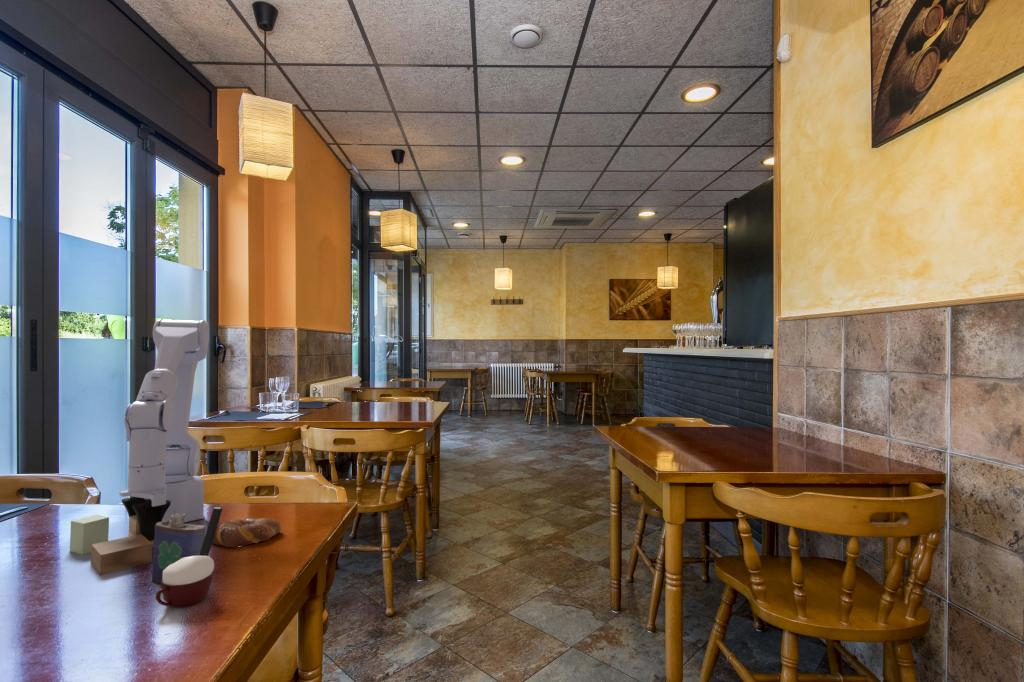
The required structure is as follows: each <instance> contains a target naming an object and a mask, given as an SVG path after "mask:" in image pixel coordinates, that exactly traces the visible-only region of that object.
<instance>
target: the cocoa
mask: <svg viewBox="0 0 1024 682" xmlns="http://www.w3.org/2000/svg"><path fill="white" fill-rule="evenodd" d="M222 512H223V507H220V506H215V507H213V509H212V513H211V516H210V520H209V523H208V526H207V528H206V531H205V538H204V542H203V545H202V548H201V551H200V555H199V556H189V557H184V558H182V559H180V560H178V561H177V562H175V563H173V564H171V565H169V566H168V567H167V568H165V569H164V570H163V576H162V581H161V585H160V587H161V588H160V589H158V590H157V592H156V593H155V600H156V602H157V603H158V604H159V605H163V606H165V607H173V608H185V607H189V606H193V605H195V604H197V603H199V602H200V601H202V600H203V599H205V597H206V596H207V594H208V593H209V590H210V587H211V585H212V580H213V574H214V573H213V571H214V569H215V562H214V559H213V558H212V557H210V551H211V548H212V544H213V538H214V535H215V532H216V529H217V527H218V526H219V520H220V518H221V515H222ZM161 595H162V597H163V600H162V599H161Z"/></svg>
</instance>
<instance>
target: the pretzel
mask: <svg viewBox="0 0 1024 682" xmlns="http://www.w3.org/2000/svg"><path fill="white" fill-rule="evenodd" d="M281 530H282V527H281V524H280V522H279V521H278V520H277V519H274V518H266V517H260V518H257V517H245V518H243V519H242V518H241V519H240V518H238V519H237V518H235V519H232V520H228V521H227V520H226V521H225V522H223V523H221V524H220V525H219V524H218V525H217V529H216V532H215V535H214V538H213V542H212V544H214V545H216V546H219V545H224V546H223V547H225V548H228V547H238V546H244V547H246V546H245V545H247V546H249V545H248V544H250V545H252V543H256V542H259V541H260V542H261V541H265V540H268V539H270V538H271V537H272V536H273V535H276V534H278V533H279V532H281ZM279 534H280V533H279ZM279 534H278V535H279ZM276 536H277V535H276ZM273 537H274V536H273ZM273 537H272V538H273ZM272 538H271V539H272ZM271 539H270V540H271ZM268 541H269V540H268ZM260 542H259V543H260ZM265 542H266V541H265ZM238 548H239V547H238Z"/></svg>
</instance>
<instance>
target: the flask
mask: <svg viewBox="0 0 1024 682" xmlns="http://www.w3.org/2000/svg"><path fill="white" fill-rule="evenodd" d="M171 517H172V518H175V520H171V519H168V520H166V521H162V522H158V523H156V524H155V537H154V547H153V553H152V570H151V572H152V574H151V583H152V584H154V585H158V586H161V581H162V576H163V570H164V569H165V568H167V567H168V566H169V565H171V564H173V563H175V562H177V561H178V560H180V559H182V558H184V557H189V556H199V555H200V551H201V548H202V545H203V542H204V538H205V535H206V530H207V528H206V525H203V524H189V523H185V522H184V521H185V520H184V519H183V518H185V517H186V514H185V513H183V515H180V514H175V516H174V514H173V515H172V516H171Z"/></svg>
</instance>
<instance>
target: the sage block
mask: <svg viewBox="0 0 1024 682" xmlns="http://www.w3.org/2000/svg"><path fill="white" fill-rule="evenodd" d="M109 527H110V517H109V516H105V515H100V514H93V515H89V516H85V517H80V518H77V519H72V520H70V535H69V537H70V538H69V552H72V553H74V552H75V554H78V555H82V556H83V555H87V554H91V547H92V544H96V543H101V542H106V541H109V529H110V528H109Z"/></svg>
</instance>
